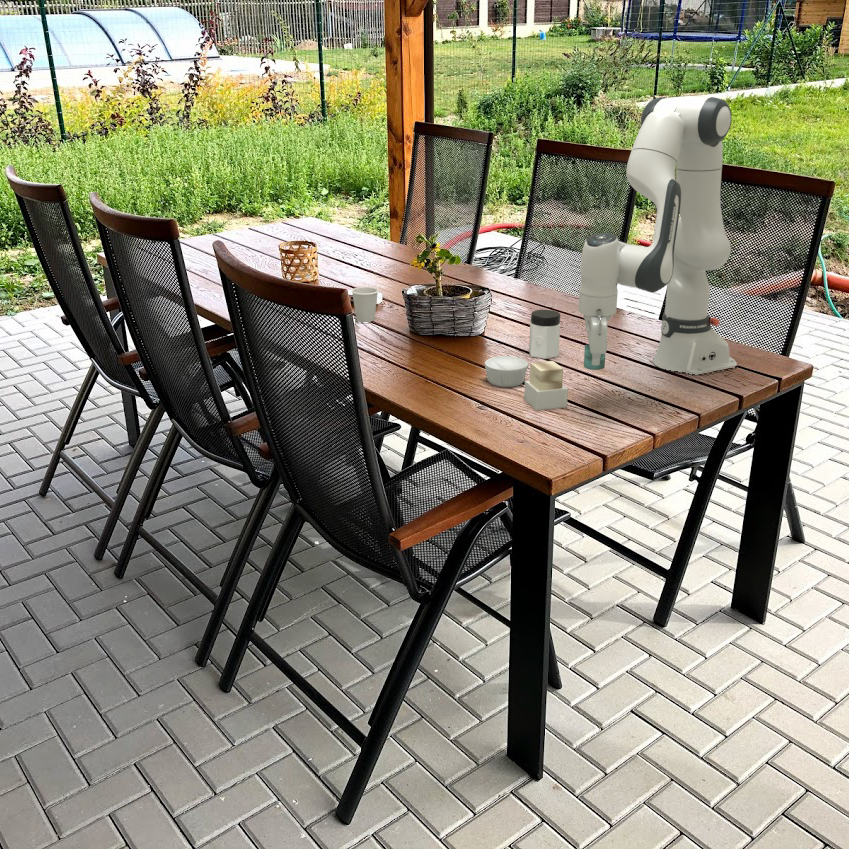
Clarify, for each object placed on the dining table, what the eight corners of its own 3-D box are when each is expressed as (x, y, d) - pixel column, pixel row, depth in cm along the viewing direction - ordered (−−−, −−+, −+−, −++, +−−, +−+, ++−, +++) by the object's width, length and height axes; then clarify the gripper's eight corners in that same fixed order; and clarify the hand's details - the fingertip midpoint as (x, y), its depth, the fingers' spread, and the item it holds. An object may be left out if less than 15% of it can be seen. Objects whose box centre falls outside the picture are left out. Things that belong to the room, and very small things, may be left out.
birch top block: (551, 379, 230) (552, 360, 228) (562, 388, 225) (563, 368, 223) (529, 382, 228) (530, 363, 226) (539, 390, 223) (540, 371, 221)
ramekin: (475, 382, 242) (476, 363, 240) (499, 371, 250) (500, 352, 248) (512, 392, 235) (512, 372, 233) (535, 380, 243) (536, 361, 241)
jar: (523, 355, 262) (525, 314, 257) (534, 347, 268) (536, 307, 263) (552, 360, 258) (555, 319, 253) (563, 352, 264) (566, 312, 259)
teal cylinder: (599, 361, 226) (600, 342, 224) (608, 368, 222) (609, 348, 220) (580, 364, 225) (581, 344, 223) (589, 370, 221) (590, 350, 219)
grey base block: (553, 396, 233) (554, 377, 231) (566, 407, 226) (568, 388, 224) (524, 399, 231) (524, 380, 229) (536, 411, 224) (537, 392, 222)
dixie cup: (377, 324, 288) (377, 293, 285) (351, 324, 289) (350, 293, 285) (379, 317, 296) (379, 286, 292) (353, 317, 296) (352, 286, 292)
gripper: (615, 317, 207) (611, 375, 213) (608, 293, 226) (604, 346, 232) (586, 317, 208) (583, 374, 214) (581, 292, 227) (579, 346, 232)
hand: (594, 359), depth 223 cm, fingers closed on teal cylinder, 5 cm apart
